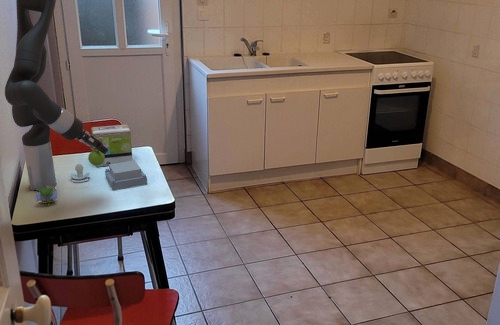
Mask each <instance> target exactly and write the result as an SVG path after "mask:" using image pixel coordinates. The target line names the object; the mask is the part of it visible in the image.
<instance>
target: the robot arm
mask: <svg viewBox="0 0 500 325" xmlns="http://www.w3.org/2000/svg"><path fill="white" fill-rule="evenodd" d="M15 2H16V28H17V30H16V46H15V47H16V48H15V56H14V62H13V63H14V64H13V68H12V69H11V72H10V74H9V76H8V79H7V81H6V83H5V87H4V96H5V100H6V101H7V102H8V104H9V105H11V115H12V118H13V121H14V123H15V124H16V126H18V127H19V128H25V127H26V128H27V127H30V126H32V127H31V128H30V129H29V130H28V131H27V132H25V133H24V134H23V135H22V136H21V141H22V142H21V143H22V147H23V153H24V159H25V164H26V165H25V166H26V171H27V177H28V183H29V188H30V191H39V189H46V185H49V186H52V187H54V188H55V186H57V178H56V172H55V171H56V170H55V166H54V165H55V164H54V157H53V152H52V151H53V150H52V144H51V139H50V136H51V129H52V130H53V132H56V134H59V135H60V136H62V137H63V138H64V139H66V140H68V141H73V140H77V141H78V142H80V143H81V144H84V145H86V146H87V147H90V146H92V147H94V148H95V149H97V150H99V151H100V152H101V153H103V154H106V152H107V151H108V149H107V148H106V147H105V146H103V144H102V142H100V141H98V140H97V139H96V138H95V137H94V136H92V133H91V134H90V132H89V131H88V130H86V129H84V123H83V121H82V120H81V119H79V118H78V117H76V115H74V114H73V113H71V112H70V111H68V110H66V108H63V107H61V106H60V105H59V104H58V103H56V102H55V101H54V100H52V99H51V98H50V97H49V95H48V94H47V93H46V91H45V90H44V89H43V88H42V87H41V86H40V85H39V84H38V83H39V82H40V80H41V79H42V77H43V75H44V73H45V70H46V66H47V53H48V52H47V48H46V46H45V42H46V39H47V36H48V32H49V30H50V26H51V23H52V20H53V15H54V12H55V7H56V2H57V0H15ZM30 11H33V12H38V13H41V14H40V16H39V19H38V20H37V22H36V23H35V24H34V25H33V22H32V19H31V14H30ZM44 185H45V186H44ZM43 186H44V187H43Z"/></svg>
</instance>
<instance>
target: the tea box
mask: <svg viewBox="0 0 500 325" xmlns="http://www.w3.org/2000/svg"><path fill="white" fill-rule="evenodd" d="M90 129H91V135H92V136H94V137H96V138H98V140H99V137H100V134H103V135H101V137H102V138H103V140H102V144H103V146H105V147H106V148H107V149H108V151H107V152H106V154H104V156H105V160H104V162H103V163H102V164H101V165H98V166H95V167H96V168H98V167H106V166H109V164H114V163H121V162H127V161H133V148H132V134H131V132H132V131H131V129H130V128H129V125H128V124H115V125H105V126H104V125H103V126H92V127H91V128H90Z"/></svg>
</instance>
